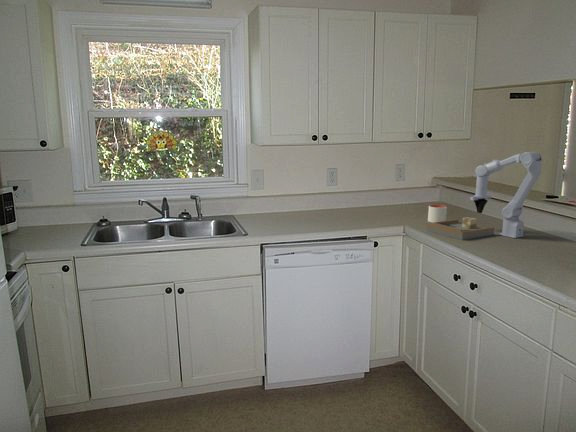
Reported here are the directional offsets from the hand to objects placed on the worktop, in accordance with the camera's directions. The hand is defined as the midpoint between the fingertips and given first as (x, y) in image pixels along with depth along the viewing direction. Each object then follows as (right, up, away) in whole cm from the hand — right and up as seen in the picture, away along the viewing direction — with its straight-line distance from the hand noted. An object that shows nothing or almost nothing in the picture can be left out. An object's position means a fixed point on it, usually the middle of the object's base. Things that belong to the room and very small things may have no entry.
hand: (479, 212), depth 261 cm
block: (-6, -8, -2) cm, 11 cm away
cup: (-18, -6, +18) cm, 26 cm away
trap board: (-13, -11, -6) cm, 18 cm away
